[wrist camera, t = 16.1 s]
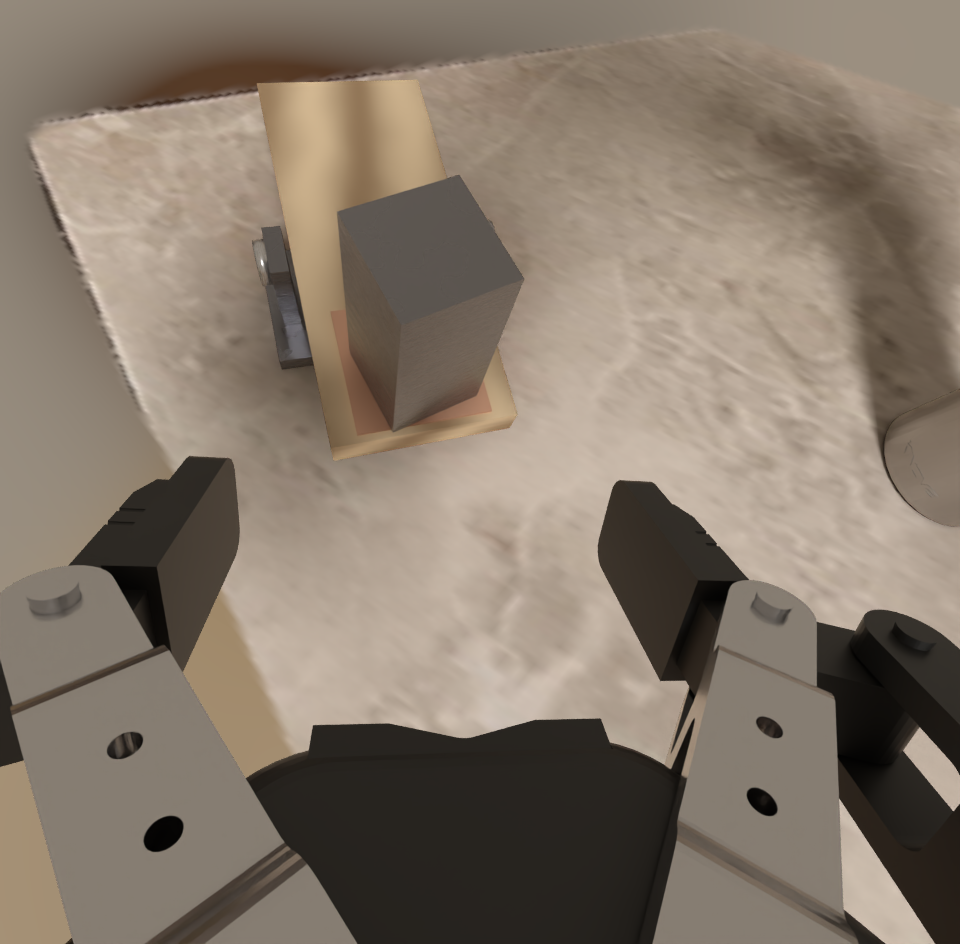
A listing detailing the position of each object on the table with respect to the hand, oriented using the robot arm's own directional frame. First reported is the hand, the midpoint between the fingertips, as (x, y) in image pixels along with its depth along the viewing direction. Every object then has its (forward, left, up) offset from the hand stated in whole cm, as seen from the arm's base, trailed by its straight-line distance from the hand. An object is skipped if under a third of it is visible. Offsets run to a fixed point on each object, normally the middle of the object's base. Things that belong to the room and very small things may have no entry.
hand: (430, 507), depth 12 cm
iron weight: (-3, -11, -15) cm, 18 cm away
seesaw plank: (-3, -19, -16) cm, 25 cm away
